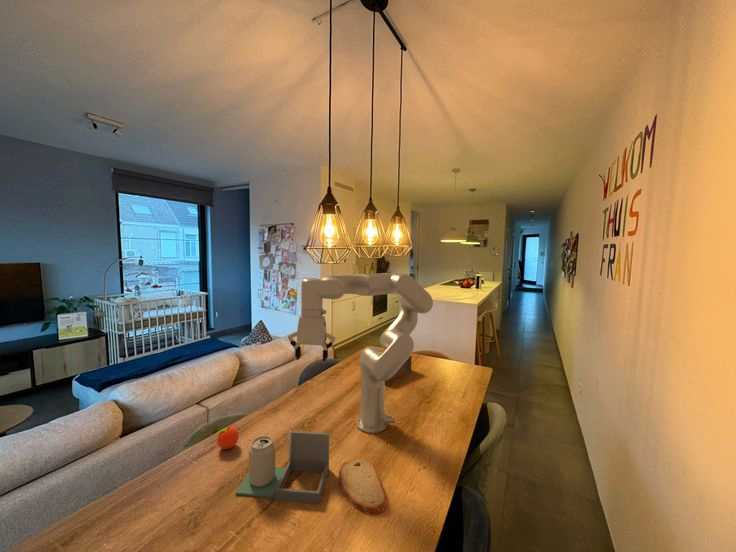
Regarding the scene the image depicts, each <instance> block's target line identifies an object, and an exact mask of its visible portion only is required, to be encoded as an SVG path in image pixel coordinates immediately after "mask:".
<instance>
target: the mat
mask: <svg viewBox="0 0 736 552" xmlns="http://www.w3.org/2000/svg"><path fill="white" fill-rule="evenodd" d="M285 468H286V467H276V466H275V477H274V479H273V480H272V481H271V482H270V483H269V484H267V485H265V486H262V487H257V486H254V485H252V484H251V483H250V482H249V472H247V474H246V475H245V477H244V479H243V480H242V481H241V483H240V484H239V487H238V488H237V489H236V491H235V495H237V496H246V497H248V496H249V497H260V498H261V497H262V498H273V499H274V498H275V488H276V486H277V484H278V482H279V480H280V478H281V476H282V474H283V472H284V470H285Z"/></svg>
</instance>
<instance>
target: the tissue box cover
mask: <svg viewBox="0 0 736 552" xmlns="http://www.w3.org/2000/svg"><path fill="white" fill-rule="evenodd" d="M412 357H413V356H412V354H411V355H410V357H409V358H408V359H407V360H406V362H405V363H404V364H403V365H402V366H401V367H400V369H399V370H398V371H397V372H396V373H395V374H394V375H393V376H392V377H391V378H390V379H388V380H385V383H388V382H389V381H392V380H395V379H396V378H397V379H398V378H400V377H403V376H404V375H408V374H409V373H412Z"/></svg>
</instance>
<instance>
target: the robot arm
mask: <svg viewBox="0 0 736 552" xmlns="http://www.w3.org/2000/svg"><path fill="white" fill-rule="evenodd" d="M300 286H301V287H300V289H301V291H300V293H301V297H300V298H301V304H300V310H301V313H300V316H299V317H298V322H297V330H296V331H295V332H293V333H292V334H290V335H288V336H287V339H288V342H289V343H290V345H291V346H292V347H293V348H294V356H295V358H296V361H298V360H300V358H301V357H302V354H301V353H302V352H301V350H302V349H301V345H306V346H307V345H309V346H321V347H322V349H323V350H322V361H323V362H326V360H327V359H328V357H329V349H330V348H331V347H332V346H333V344H334V342H335V341H336V339H337V338H336V337H335V336H334V335H332V334H330V333H328V332H327V323H326V317H325V316H324V315H326V314H327V310H325V309H324V308H323V304H324V303H323V299H326V300H338V299H341V298H342V297H343V296H344V295H357V296H362V297H364V296H365V297H369V296H370V297H372V296H382V295H391V294H392V295H398V296H399V304H400V305H399V308H400V309H399V313H398V315H397V317H396V318H395V319H394V321H393V322H392V323H391V324H389V326H388V327H387V328H386V329H385V330H384V331H383V333H382V334H381V335H380V337H379V344H380V346H381V347H382V348H383V349H384V351H383V350H382V349H380V348H378V347H377V346H367V347H365V348H363V350H362V351H361V353H360V356H359V368H360V413H359V414H360V415H359V416H358V417H357V418H356V423H355V424H356V427H357V428H358V429H359V430H361V431H362V432H365V433H370V434H377V433H381V432H383V431H385V430H386V429H387V427H388V423H391V424H395V423H396V418H395V417H393V414H386V411H385V390H386V389H385V385H386V384H385V383H386V382H385V380H388V379H390V378H391V377H392V376H393V375H394V374H395V373H396V372H397V371H398V370H399V369H400V367H401V366H402V365H403V364H404V363H405V362H406V360H407V359H408V358H409V357H410V355H411V356H412V353H413V351H414V347H415V343H414V339H413V338H412V337H411V336H410V335H411V334H412V333H413V331H414V330H415V329H416V327H417V324H418V320H419V315H418V314H424V315H425V314H428V313H429V312H430V311H431V310H432V308H433V307H434V300H433V297H432V295H431V294H430V293H429V292H428V291H427V290H426V289H425V288H424V287H422V285H421V284H420V283H419V282H418V281H417V280H416V279H414V278H413V276H411V275H409V274H406V273H402V272H394V271H393V272H383V273H382V272H380V273H365V274H364V273H362V274H346V275H344V274H343V275H332V276H331V275H328V276H325V277H323V278H321V279H320V278H304V279H302V280H301V285H300ZM294 338H296V340H294ZM327 339H329V340H330V341H329V343H328V342H326V341H327Z"/></svg>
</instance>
